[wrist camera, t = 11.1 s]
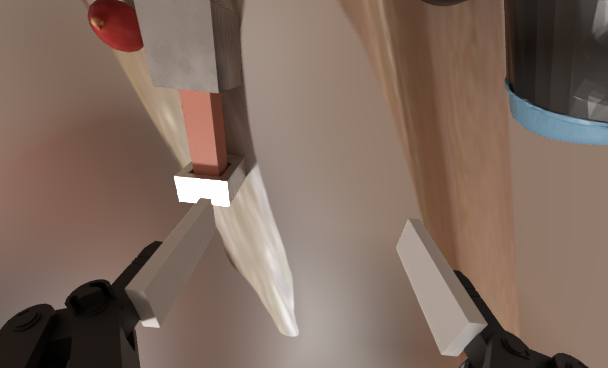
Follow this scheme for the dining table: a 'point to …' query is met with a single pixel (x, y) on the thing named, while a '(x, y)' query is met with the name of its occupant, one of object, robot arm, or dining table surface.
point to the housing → (191, 44)
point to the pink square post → (205, 131)
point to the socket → (212, 182)
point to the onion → (116, 25)
